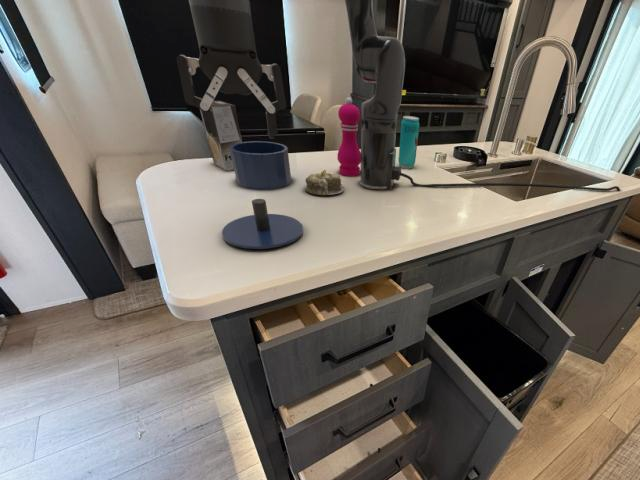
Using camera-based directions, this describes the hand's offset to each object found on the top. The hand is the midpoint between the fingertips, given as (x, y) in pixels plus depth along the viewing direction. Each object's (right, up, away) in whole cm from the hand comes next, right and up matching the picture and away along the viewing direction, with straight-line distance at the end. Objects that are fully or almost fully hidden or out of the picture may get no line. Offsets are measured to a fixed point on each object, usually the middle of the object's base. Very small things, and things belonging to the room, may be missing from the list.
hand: (244, 137), depth 53 cm
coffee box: (-24, +12, +42) cm, 50 cm away
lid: (-1, -14, +9) cm, 17 cm away
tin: (-11, +5, +33) cm, 35 cm away
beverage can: (+28, +19, +57) cm, 66 cm away
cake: (+6, +2, +32) cm, 32 cm away
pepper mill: (+10, +12, +46) cm, 49 cm away
